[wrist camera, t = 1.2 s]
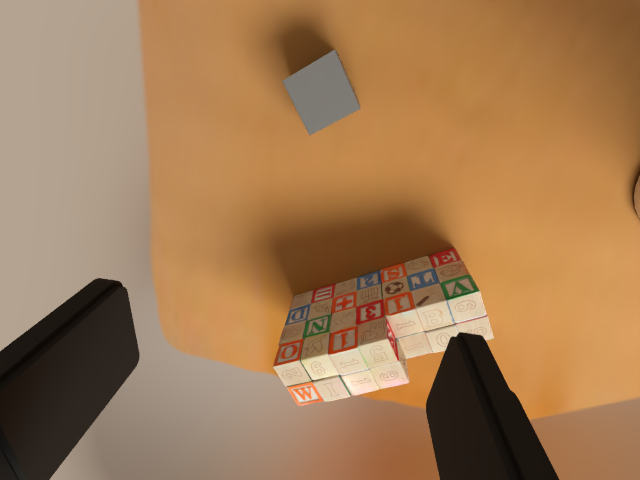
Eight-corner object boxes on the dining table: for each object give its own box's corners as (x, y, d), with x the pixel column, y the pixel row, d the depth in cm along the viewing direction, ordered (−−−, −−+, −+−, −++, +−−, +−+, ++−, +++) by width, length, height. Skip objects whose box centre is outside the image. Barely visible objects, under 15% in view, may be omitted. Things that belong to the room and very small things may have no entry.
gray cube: (337, 53, 31) (334, 49, 27) (359, 104, 33) (360, 108, 28) (292, 80, 32) (282, 81, 28) (315, 128, 34) (309, 135, 30)
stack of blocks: (454, 244, 38) (494, 311, 27) (467, 287, 41) (508, 364, 30) (292, 295, 44) (270, 368, 33) (311, 330, 46) (297, 409, 35)
